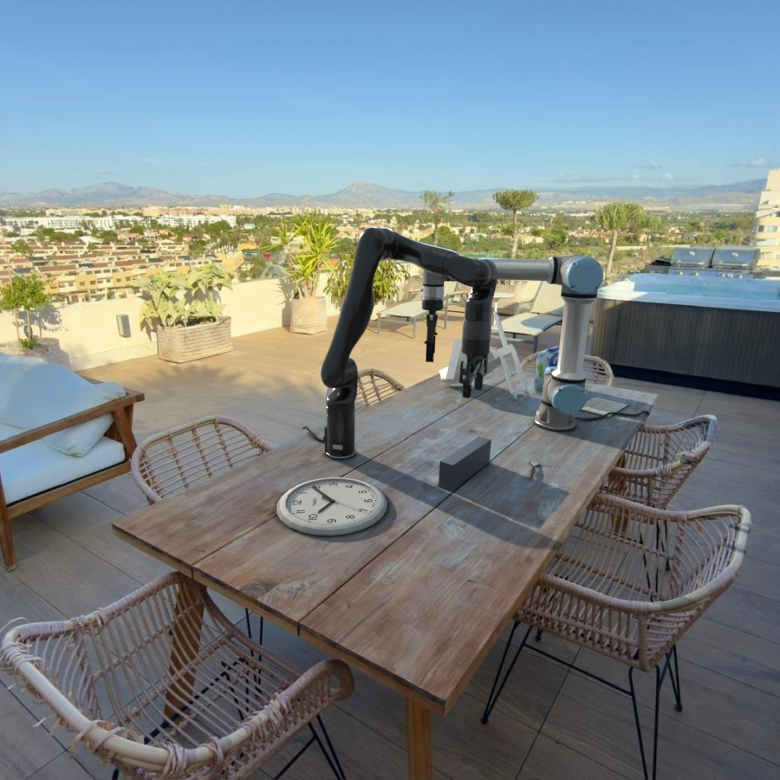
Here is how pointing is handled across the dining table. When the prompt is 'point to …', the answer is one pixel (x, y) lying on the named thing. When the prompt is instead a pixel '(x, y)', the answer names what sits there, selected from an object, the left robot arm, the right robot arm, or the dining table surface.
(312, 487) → the wall clock
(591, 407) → the invitation card
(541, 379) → the lunch box
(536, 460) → the fork
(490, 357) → the white plastic object
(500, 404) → the dining table surface
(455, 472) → the bar
